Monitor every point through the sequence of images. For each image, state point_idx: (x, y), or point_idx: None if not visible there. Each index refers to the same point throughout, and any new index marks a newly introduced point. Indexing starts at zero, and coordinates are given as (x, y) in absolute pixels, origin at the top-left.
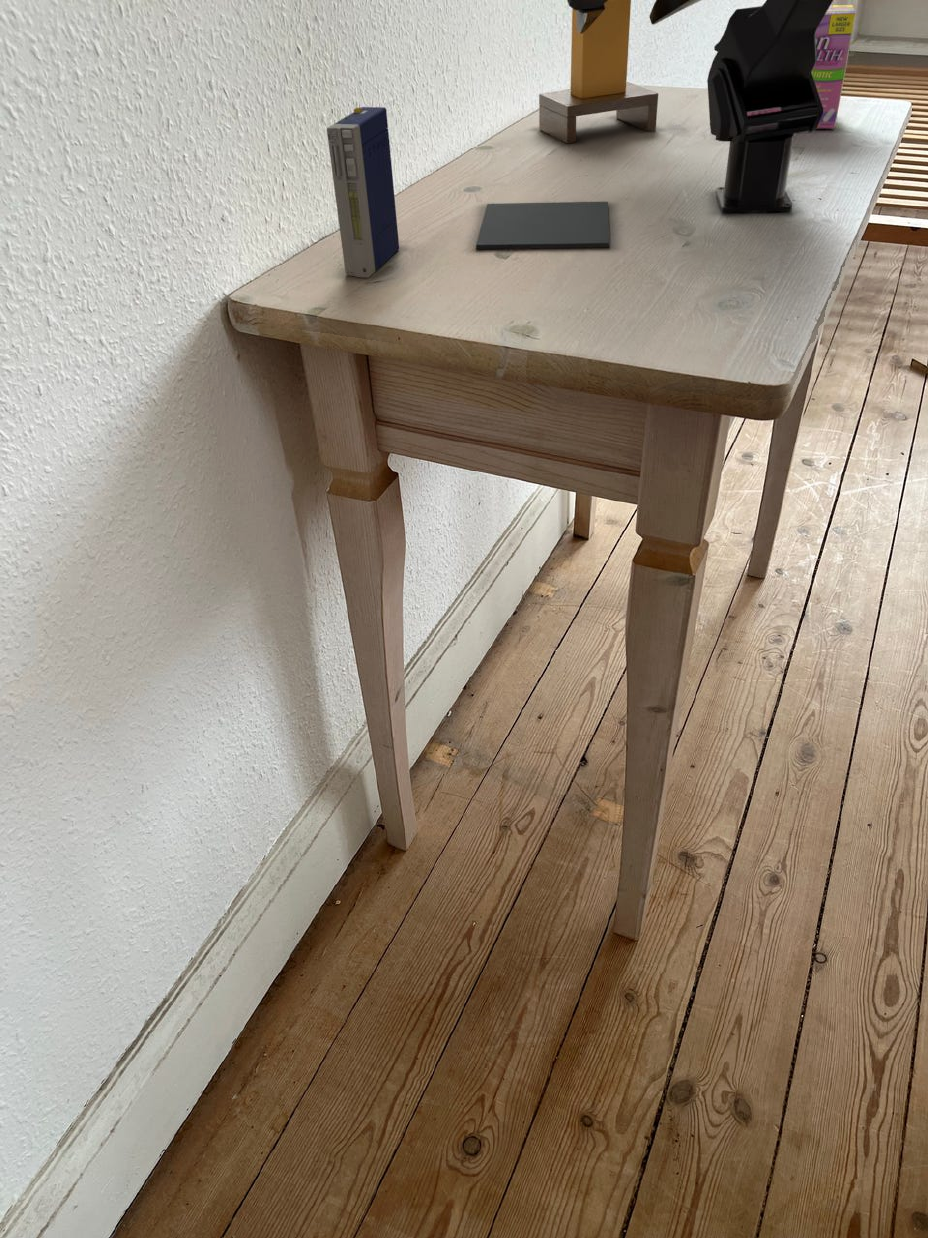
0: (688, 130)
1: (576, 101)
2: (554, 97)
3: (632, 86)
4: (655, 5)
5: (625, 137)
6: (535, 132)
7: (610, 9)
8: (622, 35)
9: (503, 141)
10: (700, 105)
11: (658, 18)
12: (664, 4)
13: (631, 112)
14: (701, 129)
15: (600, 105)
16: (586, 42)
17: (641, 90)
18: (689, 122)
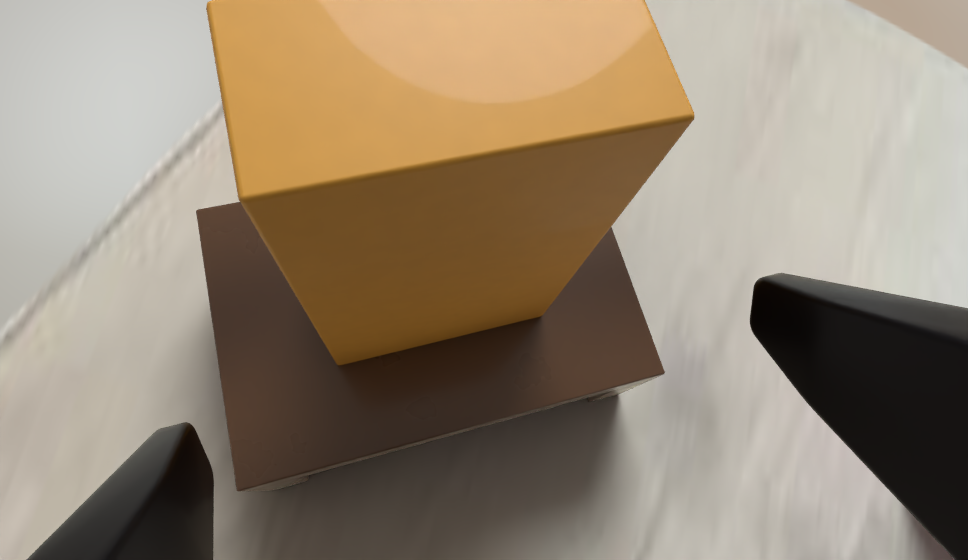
0: (723, 435)
1: (303, 409)
2: (235, 299)
3: None
4: (835, 332)
5: (500, 462)
6: None
7: (499, 201)
8: (564, 245)
9: (52, 377)
10: (796, 148)
11: (809, 404)
12: (913, 436)
13: None
14: (766, 436)
15: (404, 446)
16: (326, 302)
17: (607, 304)
18: (739, 333)
